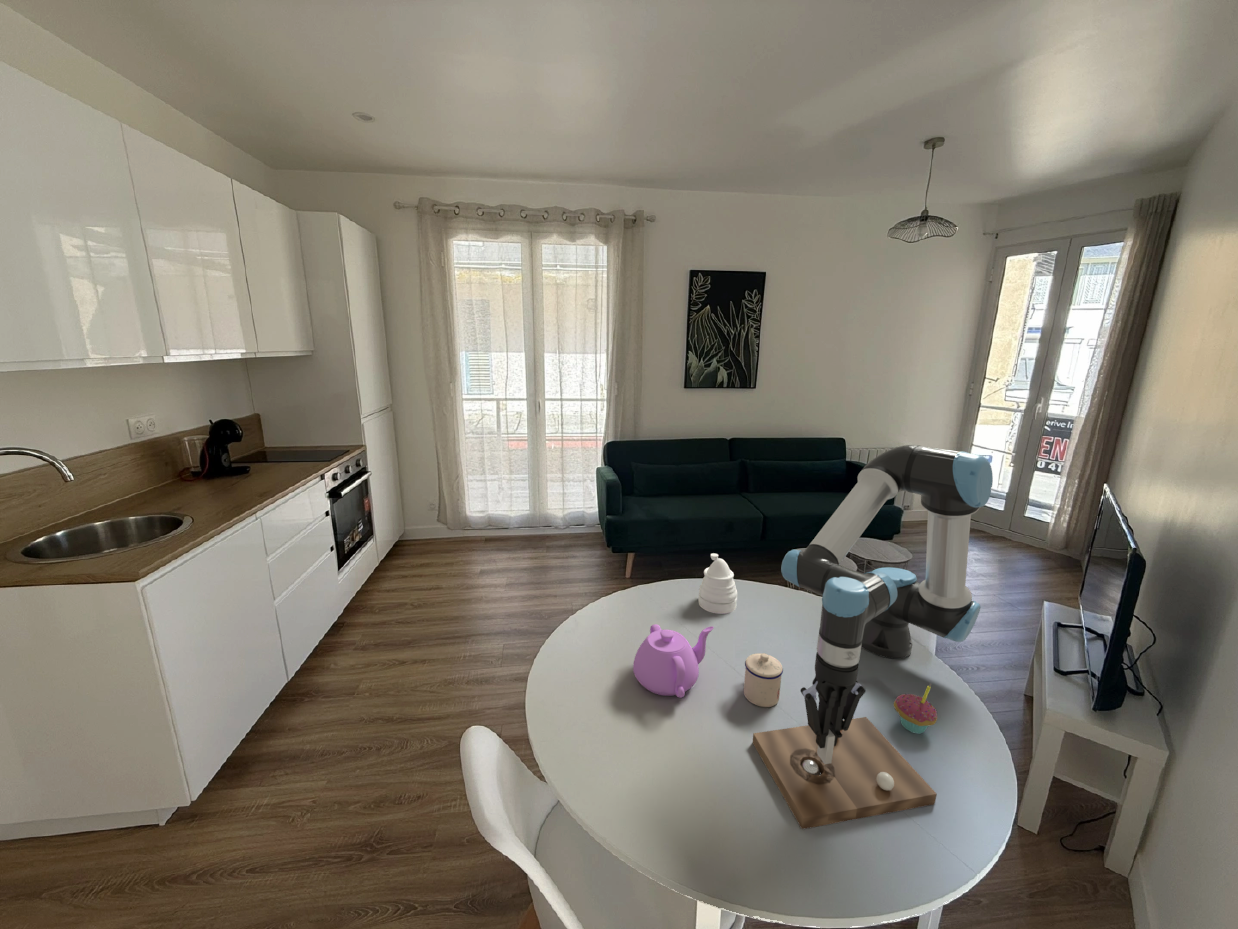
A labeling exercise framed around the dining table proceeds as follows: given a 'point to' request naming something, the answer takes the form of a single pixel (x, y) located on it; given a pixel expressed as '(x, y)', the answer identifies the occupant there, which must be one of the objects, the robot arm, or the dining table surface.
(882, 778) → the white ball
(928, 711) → the cupcake
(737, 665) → the dining table surface
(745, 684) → the teacup with lid
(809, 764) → the steel ball
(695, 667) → the teapot
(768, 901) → the dining table surface
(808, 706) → the robot arm
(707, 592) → the honey pot
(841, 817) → the wooden board
